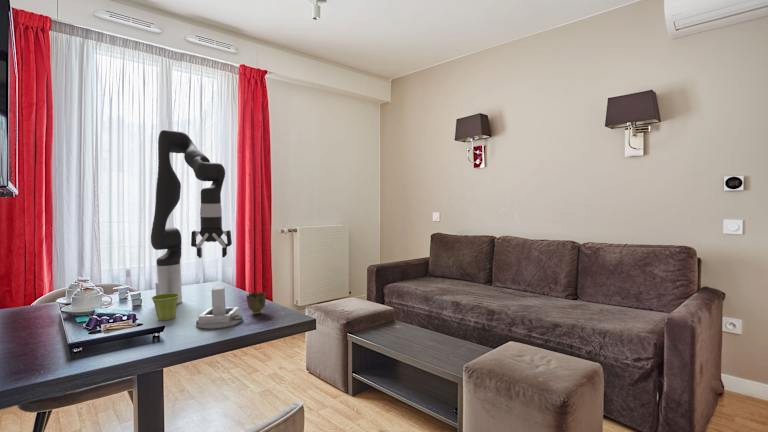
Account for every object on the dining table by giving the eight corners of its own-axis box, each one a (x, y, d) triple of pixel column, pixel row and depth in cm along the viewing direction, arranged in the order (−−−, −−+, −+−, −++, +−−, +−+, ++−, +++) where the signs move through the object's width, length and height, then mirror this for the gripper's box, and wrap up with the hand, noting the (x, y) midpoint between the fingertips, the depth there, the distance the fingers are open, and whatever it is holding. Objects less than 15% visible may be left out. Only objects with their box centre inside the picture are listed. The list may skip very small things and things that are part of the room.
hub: (188, 330, 145) (188, 318, 145) (206, 316, 161) (205, 306, 161) (235, 329, 146) (234, 317, 145) (247, 315, 162) (247, 305, 161)
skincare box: (213, 317, 155) (212, 286, 155) (226, 316, 157) (224, 285, 156) (212, 322, 150) (211, 289, 149) (225, 321, 151) (223, 288, 150)
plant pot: (184, 317, 160) (182, 295, 160) (157, 323, 153) (156, 300, 153) (174, 313, 167) (173, 292, 166) (149, 318, 160) (147, 296, 159)
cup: (260, 317, 159) (260, 296, 159) (243, 316, 161) (242, 296, 160) (269, 311, 167) (269, 291, 166) (253, 310, 168) (252, 291, 168)
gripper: (232, 214, 163) (233, 255, 164) (193, 214, 160) (194, 256, 161) (229, 216, 156) (229, 258, 157) (188, 216, 153) (189, 259, 154)
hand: (212, 257), depth 159 cm, fingers open, 8 cm apart
